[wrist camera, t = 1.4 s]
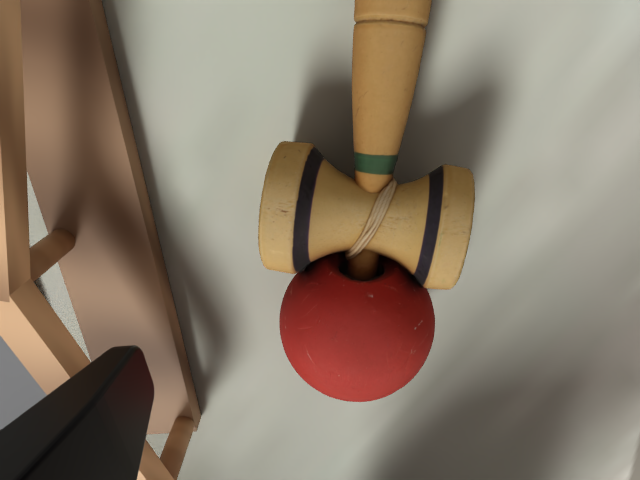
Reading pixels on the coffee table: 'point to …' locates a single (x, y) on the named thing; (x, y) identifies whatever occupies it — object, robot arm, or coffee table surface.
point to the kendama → (365, 227)
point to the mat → (15, 386)
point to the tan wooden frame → (83, 216)
